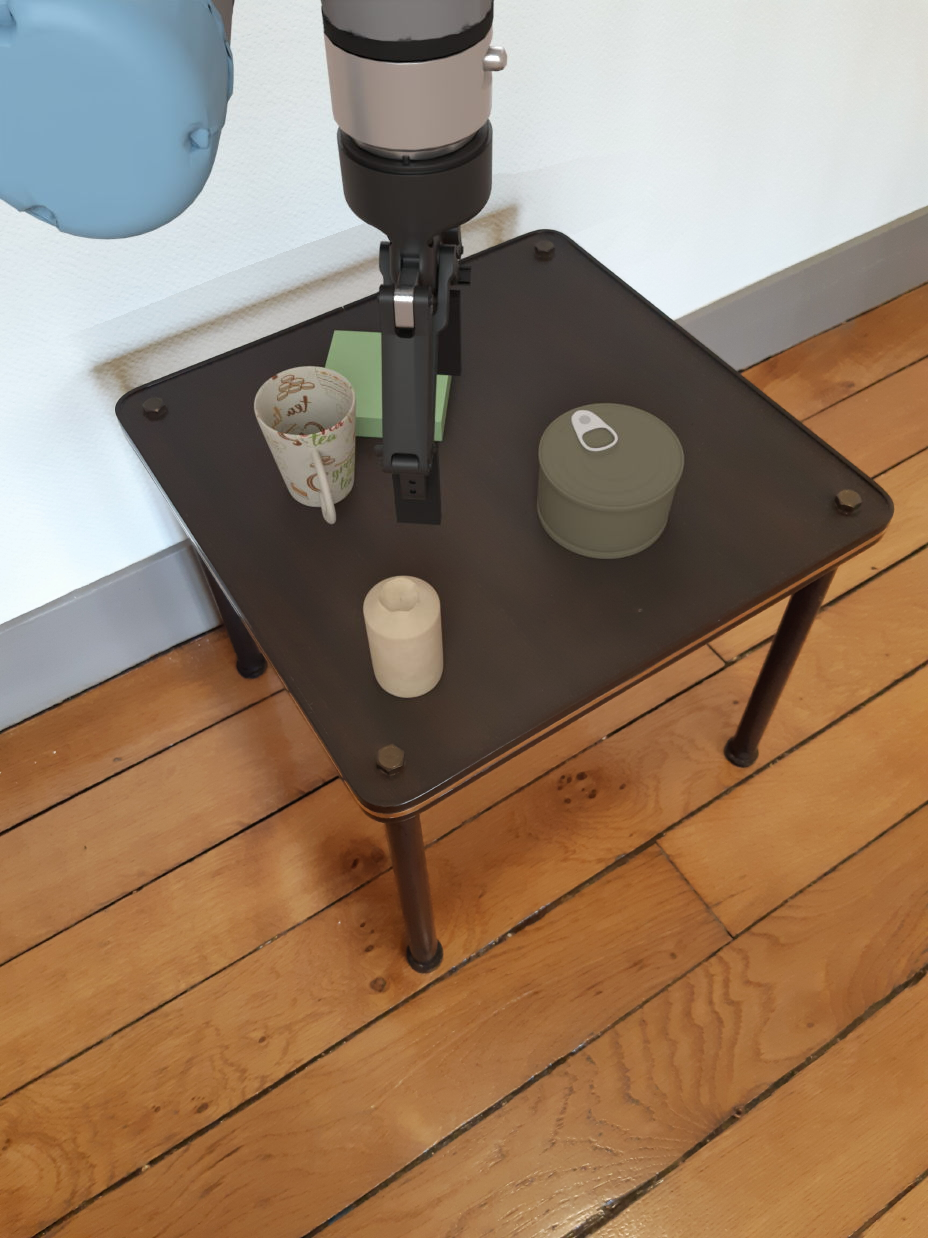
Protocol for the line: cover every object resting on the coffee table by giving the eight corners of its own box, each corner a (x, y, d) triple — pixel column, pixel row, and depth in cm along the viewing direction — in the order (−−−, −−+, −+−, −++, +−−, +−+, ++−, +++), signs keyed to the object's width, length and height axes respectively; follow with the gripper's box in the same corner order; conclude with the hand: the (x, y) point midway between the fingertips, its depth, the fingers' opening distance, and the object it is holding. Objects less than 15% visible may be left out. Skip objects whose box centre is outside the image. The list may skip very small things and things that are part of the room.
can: (575, 580, 79) (583, 527, 73) (511, 484, 85) (513, 428, 79) (696, 532, 82) (713, 477, 76) (625, 442, 88) (635, 386, 82)
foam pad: (316, 433, 89) (312, 414, 87) (337, 349, 96) (334, 329, 94) (442, 441, 88) (441, 421, 86) (454, 356, 95) (454, 336, 93)
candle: (452, 688, 73) (448, 615, 65) (383, 706, 72) (371, 635, 64) (433, 632, 76) (427, 555, 68) (366, 648, 75) (353, 573, 67)
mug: (353, 440, 88) (341, 356, 80) (390, 539, 82) (380, 458, 73) (266, 461, 87) (244, 378, 79) (296, 563, 80) (276, 484, 72)
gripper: (469, 287, 38) (471, 597, 55) (509, 2, 52) (501, 321, 69) (284, 278, 38) (345, 588, 56) (373, -2, 52) (399, 316, 70)
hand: (431, 441), depth 62 cm, fingers open, 13 cm apart
